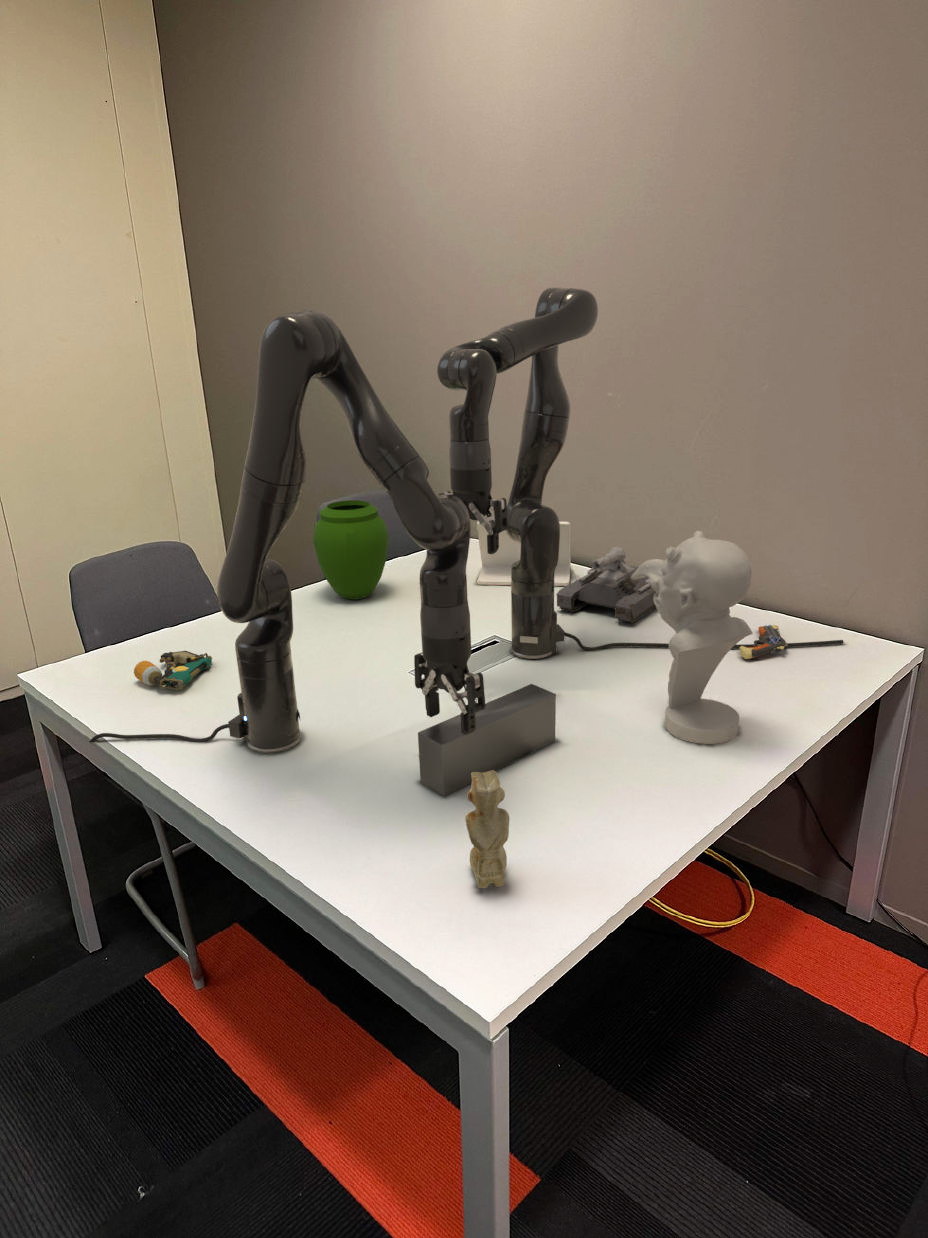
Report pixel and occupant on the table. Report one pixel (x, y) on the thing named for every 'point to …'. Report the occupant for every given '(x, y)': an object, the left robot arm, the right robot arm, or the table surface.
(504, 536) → the tablet stand
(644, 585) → the toy
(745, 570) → the bust sculpture
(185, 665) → the spray gun
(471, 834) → the sculpture
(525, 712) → the bar
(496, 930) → the table surface
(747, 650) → the toy gun
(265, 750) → the left robot arm
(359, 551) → the vase
